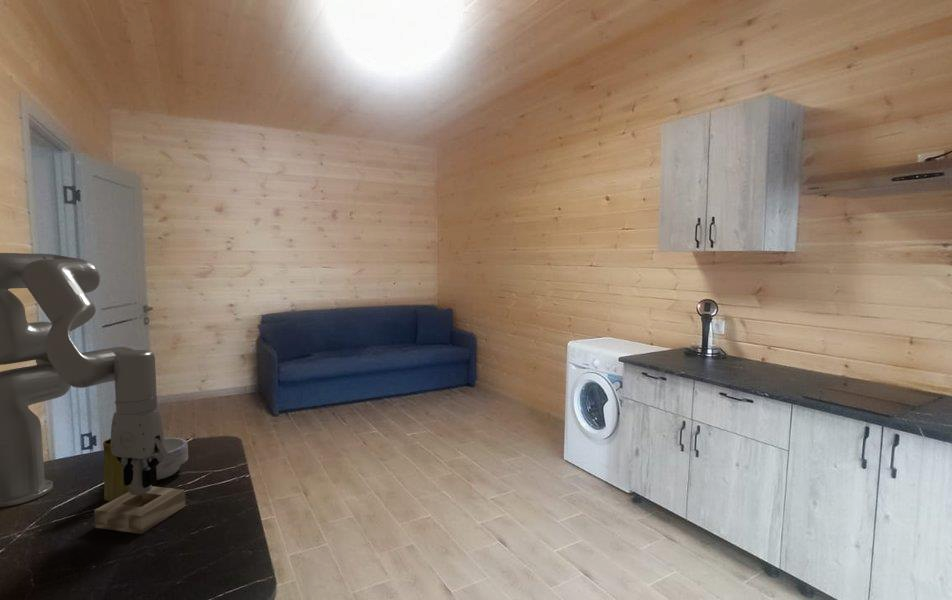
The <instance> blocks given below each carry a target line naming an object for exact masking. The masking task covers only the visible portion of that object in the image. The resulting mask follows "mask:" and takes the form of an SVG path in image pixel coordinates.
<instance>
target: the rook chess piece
mask: <svg viewBox="0 0 952 600" xmlns="http://www.w3.org/2000/svg"><path fill="white" fill-rule="evenodd" d="M131 464H132V465H133V468H132V470H133V480H132V482H131V484H130V486H129V489H130V490H129V493H130V494H132V495H140V494H144V493H146V492H149V491H150V490H151V488H152V486H153V484H152V485H150V486H149V487H147V488H143V483H142V471H143V470H145V469H144V465H143V461H142V459H132V461H131Z"/></svg>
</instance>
